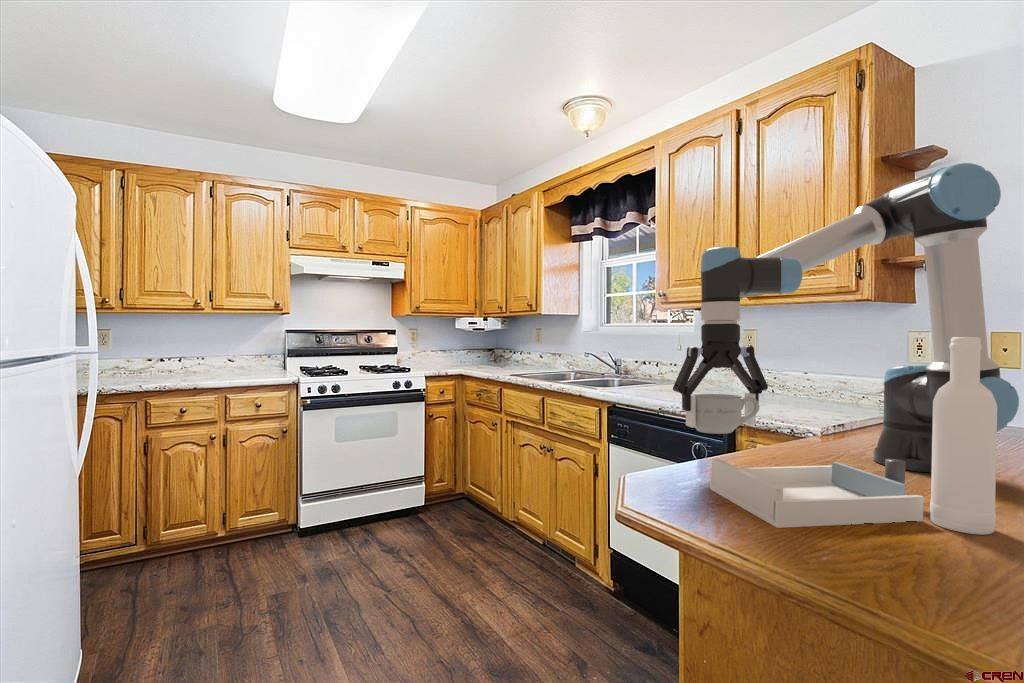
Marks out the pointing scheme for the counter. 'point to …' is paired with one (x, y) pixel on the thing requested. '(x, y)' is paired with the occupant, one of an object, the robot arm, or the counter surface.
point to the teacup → (721, 412)
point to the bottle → (964, 445)
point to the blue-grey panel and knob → (872, 479)
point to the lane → (807, 497)
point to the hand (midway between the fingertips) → (720, 425)
